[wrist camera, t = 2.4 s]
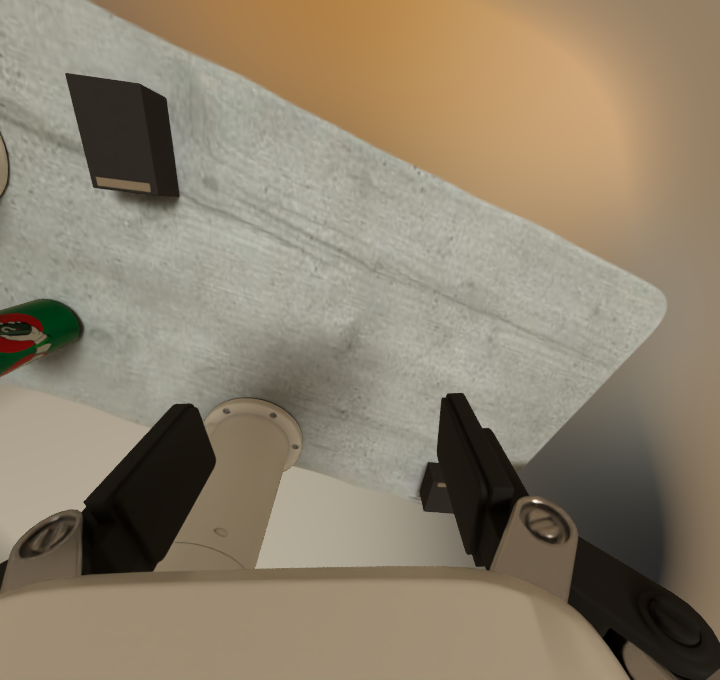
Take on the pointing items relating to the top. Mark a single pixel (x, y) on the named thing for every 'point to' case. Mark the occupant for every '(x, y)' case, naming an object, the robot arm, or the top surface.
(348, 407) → the top surface
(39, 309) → the soda can
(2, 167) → the jar
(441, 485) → the charcoal pad
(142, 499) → the robot arm
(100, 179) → the black box
